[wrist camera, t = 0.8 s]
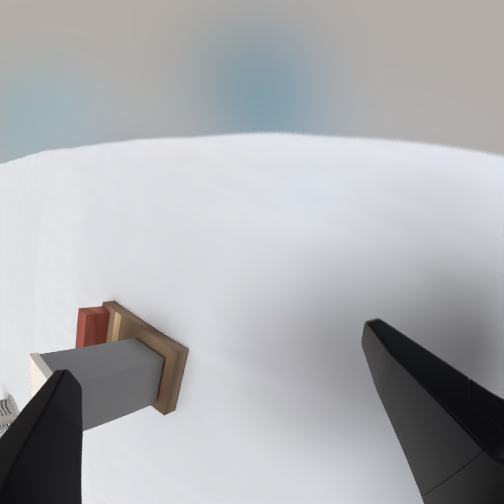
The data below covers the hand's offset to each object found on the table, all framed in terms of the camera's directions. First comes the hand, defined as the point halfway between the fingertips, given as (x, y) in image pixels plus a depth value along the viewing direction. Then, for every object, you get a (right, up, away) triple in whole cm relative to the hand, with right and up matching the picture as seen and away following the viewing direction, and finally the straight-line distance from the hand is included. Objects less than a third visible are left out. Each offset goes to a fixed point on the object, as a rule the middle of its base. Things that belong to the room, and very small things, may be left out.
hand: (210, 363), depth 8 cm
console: (-10, -7, +20) cm, 24 cm away
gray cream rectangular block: (-9, -8, +18) cm, 21 cm away
